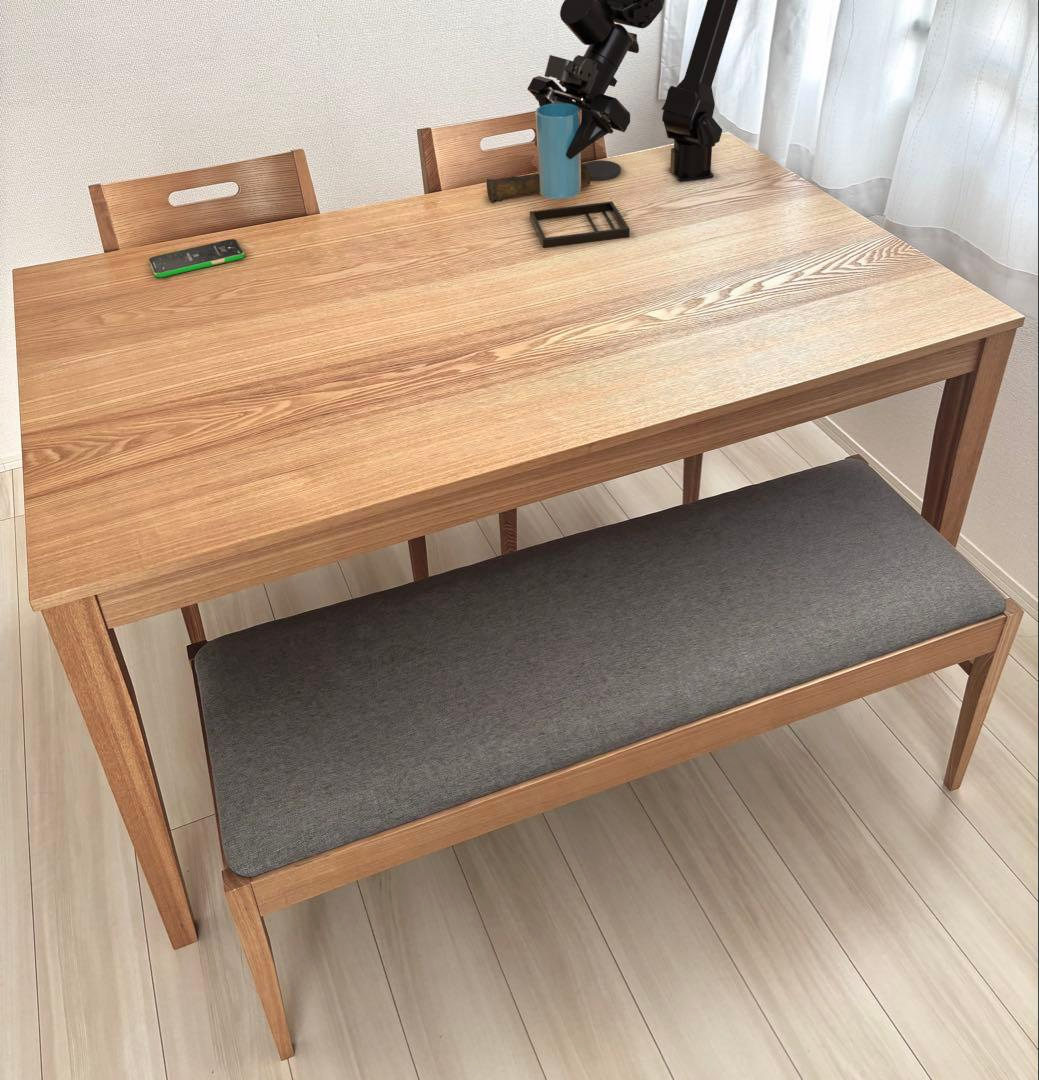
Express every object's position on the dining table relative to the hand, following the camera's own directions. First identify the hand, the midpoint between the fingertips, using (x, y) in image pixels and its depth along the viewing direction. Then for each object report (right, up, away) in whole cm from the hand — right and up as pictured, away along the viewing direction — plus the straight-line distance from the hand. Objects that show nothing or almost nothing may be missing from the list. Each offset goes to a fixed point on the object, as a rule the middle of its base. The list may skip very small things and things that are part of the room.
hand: (552, 151), depth 168 cm
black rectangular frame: (+5, -9, +10) cm, 14 cm away
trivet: (+10, +7, +28) cm, 30 cm away
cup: (+1, -5, +5) cm, 7 cm away
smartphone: (-59, -15, +8) cm, 62 cm away
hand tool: (-2, +1, +22) cm, 23 cm away
